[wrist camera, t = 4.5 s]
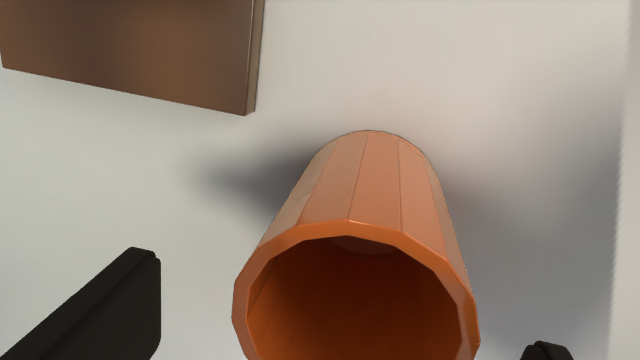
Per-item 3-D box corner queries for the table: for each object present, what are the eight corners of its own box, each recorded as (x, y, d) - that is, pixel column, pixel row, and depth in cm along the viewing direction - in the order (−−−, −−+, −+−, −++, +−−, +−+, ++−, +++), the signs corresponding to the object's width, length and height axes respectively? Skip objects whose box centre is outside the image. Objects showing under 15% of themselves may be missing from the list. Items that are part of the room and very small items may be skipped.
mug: (312, 117, 18) (241, 195, 9) (457, 146, 17) (517, 256, 9) (284, 305, 22) (217, 473, 13) (399, 334, 21) (403, 530, 13)
